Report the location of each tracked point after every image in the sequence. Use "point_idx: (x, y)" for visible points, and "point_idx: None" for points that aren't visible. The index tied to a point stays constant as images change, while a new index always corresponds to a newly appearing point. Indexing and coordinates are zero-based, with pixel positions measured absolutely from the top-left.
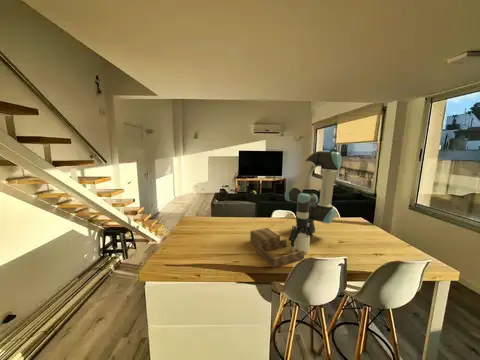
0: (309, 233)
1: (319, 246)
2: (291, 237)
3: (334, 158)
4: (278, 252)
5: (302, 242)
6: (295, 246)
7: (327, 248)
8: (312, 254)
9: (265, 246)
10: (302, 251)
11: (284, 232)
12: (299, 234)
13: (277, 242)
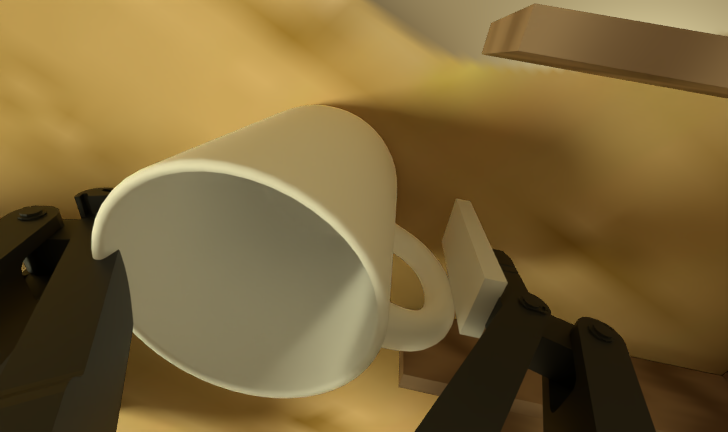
0: (33, 291)
1: (81, 117)
2: (633, 415)
3: None
4: (572, 291)
5: (375, 196)
6: (401, 244)
7: (5, 20)
8: (295, 32)
9: (698, 418)
10: (583, 20)
11: (230, 419)
12: (249, 371)
13: (540, 397)
